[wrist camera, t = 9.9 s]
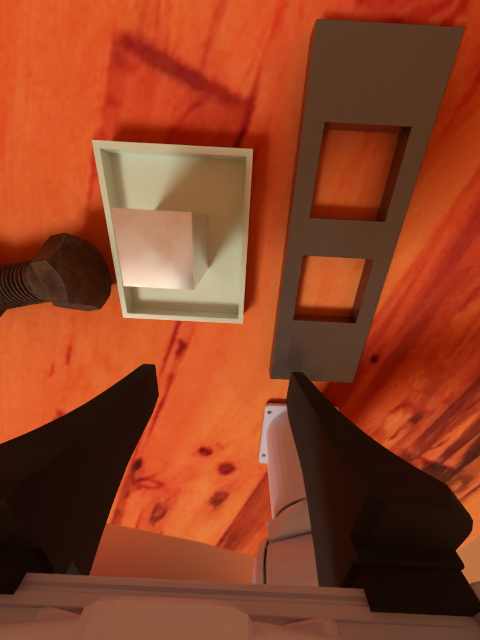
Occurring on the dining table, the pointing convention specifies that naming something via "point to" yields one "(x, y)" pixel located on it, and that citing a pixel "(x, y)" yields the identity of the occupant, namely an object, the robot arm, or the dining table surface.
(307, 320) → the metal plate with holes
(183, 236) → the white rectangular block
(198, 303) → the tray
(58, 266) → the bolt
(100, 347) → the dining table surface
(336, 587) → the robot arm
